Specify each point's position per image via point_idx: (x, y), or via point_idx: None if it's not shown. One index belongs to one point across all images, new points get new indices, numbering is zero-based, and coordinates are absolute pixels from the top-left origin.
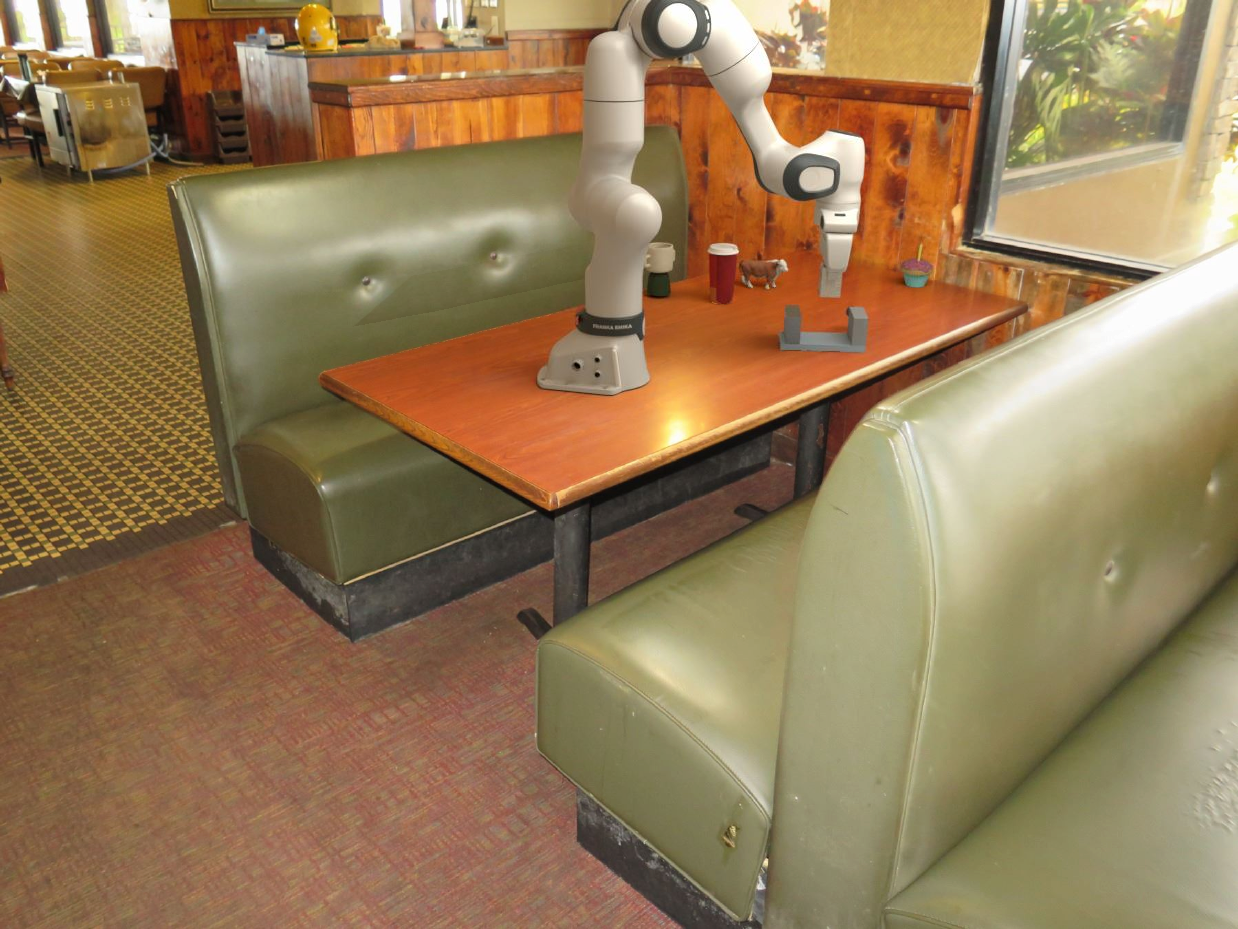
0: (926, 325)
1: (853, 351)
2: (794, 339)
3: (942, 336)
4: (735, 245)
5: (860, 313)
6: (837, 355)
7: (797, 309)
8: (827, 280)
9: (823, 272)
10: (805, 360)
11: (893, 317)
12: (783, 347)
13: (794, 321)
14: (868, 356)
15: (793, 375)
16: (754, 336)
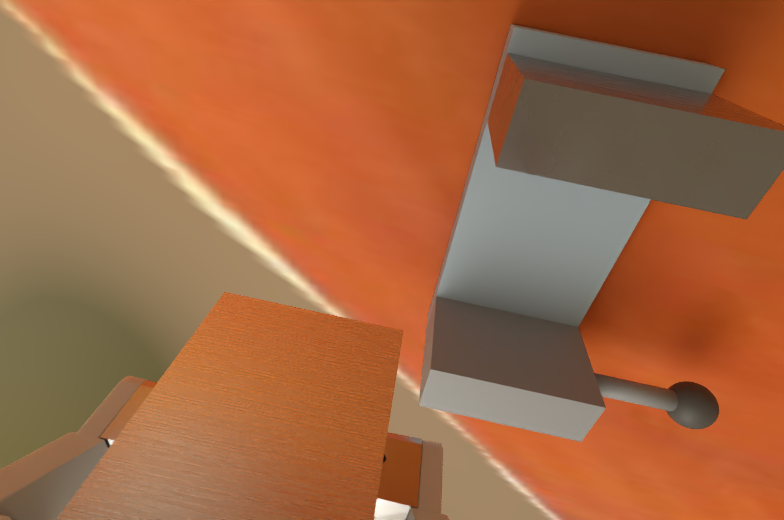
0: (619, 500)
1: (435, 289)
2: (495, 100)
3: (522, 491)
4: None
5: (494, 407)
6: (412, 234)
7: (657, 185)
8: (119, 424)
9: (93, 475)
10: (365, 106)
11: (729, 477)
12: (507, 40)
13: (506, 118)
14: (392, 312)
15: (181, 2)
16: None
